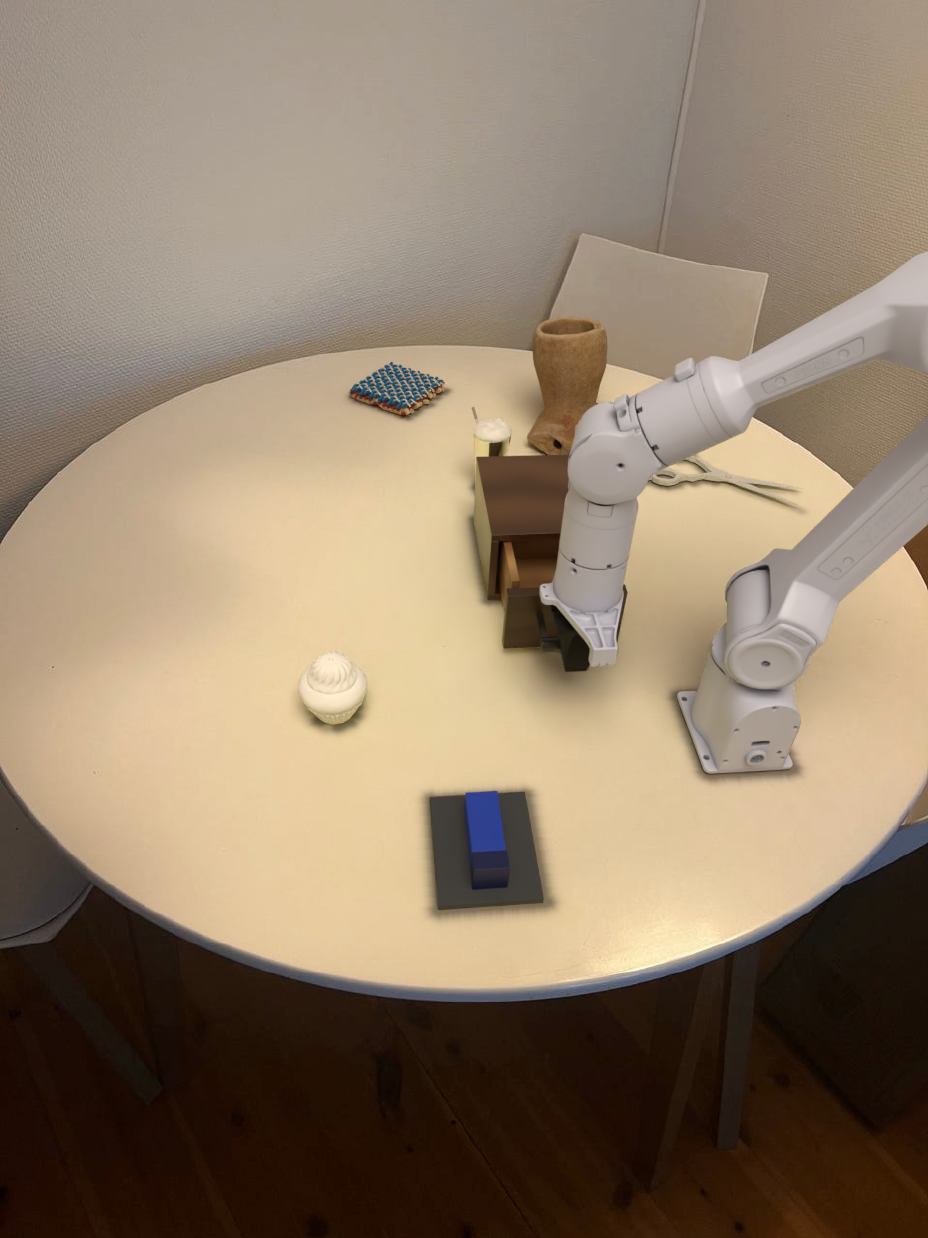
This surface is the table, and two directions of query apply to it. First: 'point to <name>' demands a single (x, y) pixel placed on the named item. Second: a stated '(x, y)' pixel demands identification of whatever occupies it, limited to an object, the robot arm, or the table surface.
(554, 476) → the cabinet
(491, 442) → the milkshake
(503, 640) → the drawer
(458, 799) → the desk pad
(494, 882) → the block
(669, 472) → the scissors
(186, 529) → the table surface
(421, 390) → the woven mat
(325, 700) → the muffin
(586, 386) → the stone cup
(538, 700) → the table surface
